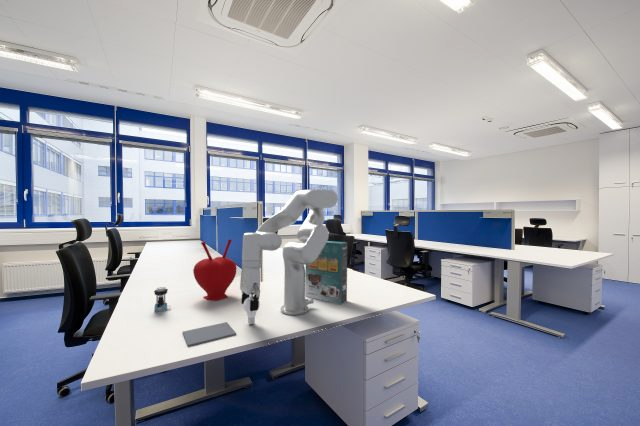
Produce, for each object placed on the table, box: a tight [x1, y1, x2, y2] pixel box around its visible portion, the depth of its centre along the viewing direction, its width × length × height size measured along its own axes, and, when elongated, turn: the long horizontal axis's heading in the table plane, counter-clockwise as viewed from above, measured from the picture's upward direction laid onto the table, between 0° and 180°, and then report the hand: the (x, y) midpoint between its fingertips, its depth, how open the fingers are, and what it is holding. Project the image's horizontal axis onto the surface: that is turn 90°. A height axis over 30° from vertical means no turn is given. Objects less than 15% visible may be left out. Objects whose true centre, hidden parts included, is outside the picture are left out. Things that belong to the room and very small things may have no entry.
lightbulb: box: [242, 295, 261, 325], centre depth 107 cm, size 6×6×11 cm
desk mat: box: [182, 321, 237, 348], centre depth 98 cm, size 16×12×1 cm
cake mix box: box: [305, 240, 348, 305], centre depth 141 cm, size 22×6×30 cm, turn 58°
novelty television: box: [192, 238, 237, 302], centre depth 141 cm, size 21×13×30 cm, turn 144°
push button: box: [153, 286, 171, 312], centre depth 122 cm, size 7×5×10 cm
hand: (249, 306), depth 107 cm, fingers open, 9 cm apart
